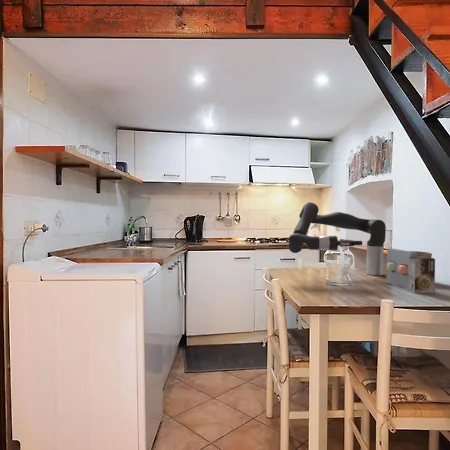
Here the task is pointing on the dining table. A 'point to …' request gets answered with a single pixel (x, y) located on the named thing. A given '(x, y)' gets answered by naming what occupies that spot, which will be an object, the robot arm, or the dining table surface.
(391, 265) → the sage-green button
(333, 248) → the robot arm
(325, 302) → the dining table surface
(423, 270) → the coffee box
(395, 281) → the button panel
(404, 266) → the terracotta button
